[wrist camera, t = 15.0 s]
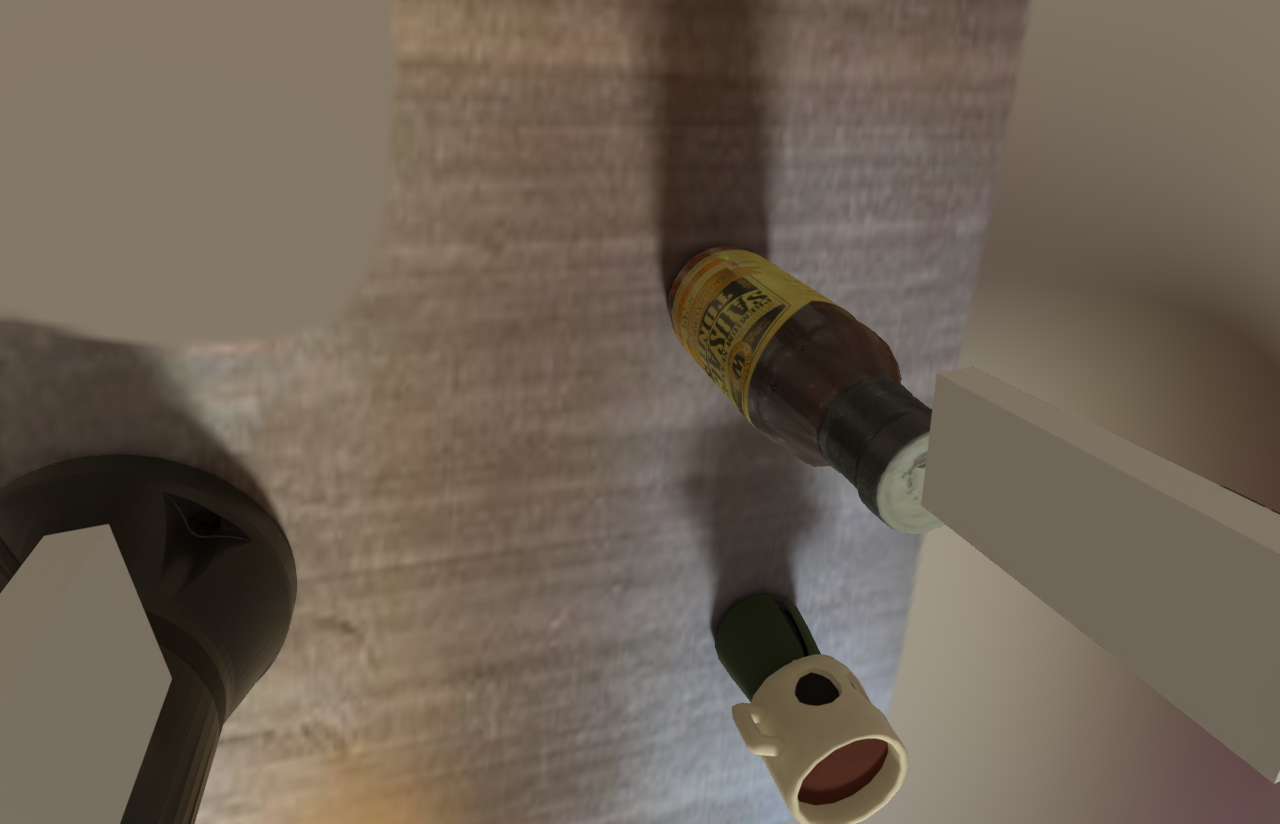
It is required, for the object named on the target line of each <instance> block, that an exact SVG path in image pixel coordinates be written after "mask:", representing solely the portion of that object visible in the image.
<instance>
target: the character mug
mask: <svg viewBox="0 0 1280 824" xmlns="http://www.w3.org/2000/svg"><path fill="white" fill-rule="evenodd" d="M782 598H783V600H784V601H785V603H786V605H787V607H788V609H789V611H790V612H791V613H790V612H789V611H787V610H785V609H783V608H781V607H778V606H777V604H776V602H775V601H774V599H773V597H772V596H771V594H767V593H765V594H761V595H757V596H753V597H749V598H747V599H745V600H744V601H742V602H741V603H739V604H738V605H736V606H735V607H733V608H732V609H730V610H729V612H728V614H727V615H726V617H725V619H724V621H723V622H722V624H721V626H720V628H719V630H718V634H717V639H716V643H715V648H716V651H717V654H718V658H719V660H720V661H721V663H722V664H723V666H724V667H725V669H726V670H727V672H728V673H729V675H730V676H731V677H732V679H733V680H734V681H735V683H736V684H737V685H738V686H739V688H740V689H741V690H742V692H743V693H744V694H745V695H746V697H747V698H748V699H749V701H750V702H751V704H749V703H739V704H736V705H735V706H733V707H732V715H733V720H734V722H735V724H736V726H737V728H738V730H739V732H740V734H741V736H742V738H743V740H744V742H745V744H746V746H747V747H748V749H749V750H750V751H751V752H752V753H755V754H757V755H761V756H762V758H763V760H764V762H765V764H766V766H767V768H768V770H769V772H770V774H771V776H772V778H773V780H774V781H775V783H776V785H777V787H778V789H779V791H780V793H781V795H782V797H783V799H784V801H785V803H786V805H787V807H788V809H789V810H790V812H791V813H792V815H793V816H794V817H795V818H796V819H797V820H798V821H799V822H800V823H801V824H856V823H858V822H860V821H862V820H865V819H867V818H868V817H869V816H871V815H872V814H874V813H875V812H876V811H878V810H879V809H881V808H882V807H883V806H885V805H886V804H887V803H888V802H889V800H890V799H891V798H892V797H893V796H894V794H895V793H896V792H897V791H898V790H899V788H900V787H901V785H902V782H903V780H904V777H905V775H906V772H907V769H908V757H907V750H906V749H905V747H904V745H903V743H902V742H901V740H900V739H899V738H898V736H897V735H896V733H895V732H894V731H893V729H892V727H891V726H890V724H889V722H888V721H887V719H886V717H885V716H884V714H883V713H882V712H881V711H880V710H879V709H878V708H876V707H875V706H874V705H873V704H872V703H871V702H870V700H869V698H868V696H867V694H866V692H865V690H864V688H863V687H862V685H861V683H860V682H859V680H858V678H857V677H856V676H855V675H854V674H853V673H852V672H851V671H850V670H849V668H848V667H847V666H845V665H844V664H842V663H841V662H839V661H837V660H836V659H834V658H833V657H831V656H827V655H822V654H821V653H820V651H819V649H818V647H817V645H816V643H815V641H814V639H813V637H812V635H811V633H810V630H809V628H808V626H807V625H806V623H805V621H804V619H803V617H802V616H801V614H800V612H799V610H798V609H797V607H796V606H795V605H794V604H793V603H792V602H791V601H790V600H789V599H788V598H787V597H784V596H782Z"/></svg>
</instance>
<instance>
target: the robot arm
mask: <svg viewBox="0 0 1280 824" xmlns="http://www.w3.org/2000/svg"><path fill="white" fill-rule="evenodd" d="M921 505H922V506H923V507H924V508H925V509H927V510H928V511H929V512H931V513H932V514H933V515H934V516H936V517H937V518H938V519H939V520H941V521H942V522H943V523H944V524H946V525H947V526H948V527H950V528H951V529H952V530H953V531H955V532H956V533H957V534H958V535H960V536H961V537H962V538H963V539H965V540H966V541H967V542H969V543H970V544H971V545H972V546H974V547H975V548H976V549H977V550H979V551H980V552H981V553H982V554H984V555H985V556H986V557H988V558H989V559H990V560H991V561H993V562H994V563H995V564H996V565H998V566H999V567H1000V568H1002V569H1003V570H1004V571H1005V572H1007V573H1008V574H1009V575H1010V576H1012V577H1013V578H1014V579H1015V580H1017V581H1018V582H1019V583H1021V584H1022V585H1023V586H1024V587H1026V588H1027V589H1028V590H1029V591H1031V592H1032V593H1033V594H1034V595H1036V596H1037V597H1038V598H1039V599H1041V600H1042V601H1043V602H1045V603H1046V604H1047V605H1048V606H1050V607H1051V608H1052V609H1054V610H1055V611H1056V612H1057V613H1058V614H1060V615H1061V616H1062V617H1064V618H1065V619H1066V620H1067V621H1069V622H1070V623H1071V624H1072V625H1074V626H1075V627H1076V628H1078V629H1079V630H1080V631H1081V632H1083V633H1084V634H1085V635H1086V636H1088V637H1089V638H1090V639H1092V640H1093V641H1094V642H1096V643H1097V644H1098V645H1099V646H1100V647H1102V648H1103V649H1104V650H1105V651H1107V652H1108V653H1109V654H1110V655H1112V656H1113V657H1114V658H1116V659H1117V660H1118V661H1119V662H1121V663H1122V664H1123V665H1124V666H1126V667H1127V668H1128V669H1129V670H1131V671H1132V672H1133V673H1135V674H1136V675H1137V676H1139V677H1140V678H1141V679H1142V680H1144V681H1145V682H1146V683H1147V684H1149V685H1150V686H1151V687H1152V688H1154V689H1155V690H1156V691H1157V692H1159V693H1160V694H1161V695H1162V696H1164V697H1165V698H1166V699H1167V700H1169V701H1170V702H1171V703H1173V704H1174V705H1175V706H1177V707H1178V708H1179V709H1180V710H1182V711H1183V712H1184V713H1185V714H1187V715H1188V716H1189V717H1190V718H1192V719H1193V720H1194V721H1195V722H1197V723H1198V724H1199V725H1200V726H1202V727H1203V728H1204V729H1206V730H1207V731H1208V732H1209V733H1211V734H1212V735H1213V736H1214V737H1216V738H1217V739H1219V741H1221V742H1222V743H1223V744H1225V745H1226V746H1227V747H1228V748H1230V749H1231V750H1232V751H1233V752H1235V753H1236V754H1237V755H1238V756H1240V757H1241V758H1242V759H1244V760H1245V761H1246V762H1247V763H1249V764H1250V765H1251V766H1252V767H1254V768H1255V769H1256V770H1257V771H1259V772H1260V773H1261V774H1263V775H1264V776H1265V777H1266V778H1268V779H1269V780H1270V781H1271V782H1273V783H1274V784H1275V783H1277V782H1280V513H1278V512H1277V511H1274V510H1269V509H1267V508H1265V506H1264V505H1262V504H1260V503H1258V502H1256V501H1254V500H1252V499H1250V498H1247V497H1245V496H1243V495H1241V494H1239V493H1237V492H1235V491H1233V490H1231V489H1229V488H1227V487H1223V486H1221V485H1217V484H1215V483H1213V482H1211V481H1209V480H1207V479H1205V478H1202V477H1201V476H1199V475H1196V474H1194V473H1192V472H1190V471H1188V470H1186V469H1184V468H1182V467H1180V466H1178V465H1176V464H1174V463H1171V462H1170V461H1168V460H1165V459H1163V458H1161V457H1159V456H1157V455H1155V454H1153V453H1151V452H1149V451H1147V450H1145V449H1143V448H1141V447H1138V446H1136V445H1134V444H1132V443H1130V442H1128V441H1126V440H1124V439H1122V438H1120V437H1118V436H1116V435H1114V434H1112V433H1110V432H1108V431H1105V430H1103V429H1101V428H1099V427H1097V426H1095V425H1093V424H1091V423H1089V422H1087V421H1085V420H1083V419H1081V418H1079V417H1076V416H1074V415H1072V414H1070V413H1068V412H1066V411H1064V410H1062V409H1060V408H1058V407H1056V406H1054V405H1051V404H1050V403H1048V402H1045V401H1043V400H1041V399H1039V398H1037V397H1035V396H1033V395H1031V394H1029V393H1027V392H1025V391H1023V390H1021V389H1018V388H1016V387H1014V386H1012V385H1010V384H1008V383H1006V382H1004V381H1002V380H1000V379H998V378H996V377H994V376H991V375H990V374H987V373H985V372H983V371H981V370H979V369H977V368H975V367H973V366H972V367H967V368H962V369H956V370H951V371H945V372H940V373H937V375H936V383H935V392H934V400H933V409H932V417H931V425H930V434H929V442H928V451H927V459H926V467H925V476H924V484H923V493H922V501H921ZM296 593H297V575H296V569H295V564H294V560H293V556H292V553H291V551H290V548H289V546H288V544H287V542H286V540H285V538H284V536H283V534H282V533H281V531H280V530H279V528H278V527H277V525H276V524H275V523H274V521H273V520H272V519H271V518H270V516H269V515H268V514H267V513H266V512H265V511H264V510H263V509H262V508H261V507H260V506H259V505H258V504H257V503H255V502H254V501H253V500H252V499H251V498H249V497H248V496H247V495H245V494H244V493H243V492H241V491H240V490H238V489H237V488H235V487H234V486H232V485H230V484H228V483H227V482H225V481H223V480H221V479H219V478H217V477H215V476H213V475H211V474H208V473H206V472H204V471H201V470H199V469H196V468H193V467H190V466H187V465H183V464H180V463H176V462H172V461H167V460H163V459H157V458H151V457H142V456H128V455H106V456H93V457H85V458H79V459H74V460H68V461H64V462H60V463H57V464H53V465H50V466H47V467H44V468H41V469H39V470H36V471H34V472H31V473H29V474H27V475H25V476H23V477H21V478H19V479H17V480H16V481H14V482H12V483H10V484H9V485H7V486H6V487H4V488H3V489H2V490H0V824H195V821H196V817H197V814H198V810H199V807H200V803H201V800H202V797H203V793H204V790H205V786H206V783H207V779H208V776H209V772H210V769H211V766H212V762H213V759H214V755H215V752H216V748H217V744H218V740H219V737H220V734H221V730H222V727H223V724H224V723H225V722H226V720H227V719H228V718H229V717H230V715H231V714H232V713H233V712H234V710H235V709H236V708H237V707H238V705H239V704H240V703H241V702H242V700H243V699H244V698H245V696H246V695H247V694H248V693H249V691H250V690H251V689H252V687H253V686H254V685H255V683H256V682H257V681H258V680H259V679H260V678H261V677H262V676H263V675H264V674H265V673H266V671H267V670H268V669H269V668H270V667H271V665H272V664H273V662H274V661H275V659H276V657H277V655H278V654H279V652H280V650H281V648H282V646H283V644H284V641H285V639H286V636H287V633H288V630H289V626H290V622H291V618H292V613H293V609H294V605H295V601H296Z"/></svg>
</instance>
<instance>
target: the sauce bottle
mask: <svg viewBox="0 0 1280 824" xmlns="http://www.w3.org/2000/svg"><path fill="white" fill-rule="evenodd" d="M669 309H670V318H671V321H672V325H673V329H674V332H675V334H676V335H677V337H678V339H679V341H680V343H681V344H682V345H683V347H684V348H685V349H686V350H687V351H688V353H689V354H690V355H691V356H692V357H693V358H694V359H695V361H696V362H697V363H698V364H699V365H700V366H701V367H702V369H703V370H704V371H705V372H706V373H707V374H708V375H709V376H710V377H711V379H712V380H713V381H714V382H715V383H716V384H717V385H718V386H719V388H720V389H721V390H722V391H723V392H724V393H725V394H726V395H727V396H728V398H729V399H730V400H731V401H732V402H733V403H734V405H735V406H736V407H737V408H738V409H739V411H740V412H741V413H742V414H743V415H744V416H745V418H746V419H747V420H748V421H749V422H750V423H751V424H752V425H753V427H754V428H755V429H756V430H757V431H759V432H760V433H762V434H763V435H765V436H766V437H768V438H769V439H771V440H772V441H774V442H775V443H777V444H778V445H780V446H781V447H783V448H784V449H786V450H787V451H789V452H790V453H792V454H793V455H795V456H796V457H798V458H799V459H801V460H802V461H804V462H805V463H807V464H810V465H812V466H813V467H817V466H820V467H821V466H831V467H833V468H834V469H835V470H836V471H838V472H839V473H842V474H843V475H844V476H845V477H846V478H847V479H848V480H849V481H850V483H852V484H853V485H854V486H855V487H856V488H857V489H858V493H859V497H860V499H861V501H862V502H863V503H864V504H865V505H866V507H867V508H868V509H869V510H870V511H871V512H872V513H874V514H875V515H876V516H877V517H878V518H879V519H880V520H881V521H883V522H884V523H885V524H886V525H888V526H889V527H891V528H892V529H894V530H896V531H900V532H904V533H907V534H916V533H925V532H928V531H931V530H934V529H936V528H939V527H942V526H943V525H945V524H944V523H943V522H942V521H941V520H939V519H938V518H937V517H936V516H934V515H933V514H932V513H931V512H929V511H928V510H927V509H925V508H924V507H923V506H922V505H921V501H922V493H923V484H924V476H925V467H926V459H927V451H928V442H929V434H930V425H931V417H932V409H930V408H929V407H927V406H926V405H924V404H923V403H922V402H920V401H919V400H918V399H917V398H915V397H914V396H913V395H912V393H910V392H909V391H908V390H907V389H906V388H905V387H904V386H903V385H901V380H902V378H901V375H900V370H899V366H898V363H897V361H896V359H895V357H894V356H893V354H892V351H891V350H890V347H889V346H888V345H887V343H886V342H884V341H883V340H882V338H880V337H879V336H878V335H877V334H876V333H875V332H874V331H872V330H871V329H870V328H868V327H867V326H865V325H864V324H862V323H860V322H858V321H857V320H856V319H855V318H854V316H853V315H852V314H850V313H849V312H848V311H847V310H845V309H844V308H842V307H840V306H839V305H837V304H835V303H834V302H832V301H831V300H829V299H827V298H826V297H824V296H823V295H821V294H819V293H818V292H816V291H815V290H813V289H812V288H810V287H808V286H807V285H805V284H804V283H802V282H801V281H799V280H798V279H796V278H794V277H793V276H791V275H790V274H788V273H787V272H785V271H783V270H782V269H780V268H779V267H777V266H776V265H774V264H772V263H771V262H769V261H768V260H766V259H764V258H763V257H761V256H760V255H758V254H756V253H752V252H749V251H746V250H743V249H741V248H738V247H735V246H717V247H714V248H709V249H707V250H705V251H702V252H701V253H699V254H697V255H695V256H694V257H693V258H691V259H690V260H689V262H688V263H687V264H686V265H685V266H684V267H683V268H682V270H681V271H680V272H679V273H678V275H677V277H676V279H675V280H674V281H673V284H672V289H671V291H670V293H669Z"/></svg>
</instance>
